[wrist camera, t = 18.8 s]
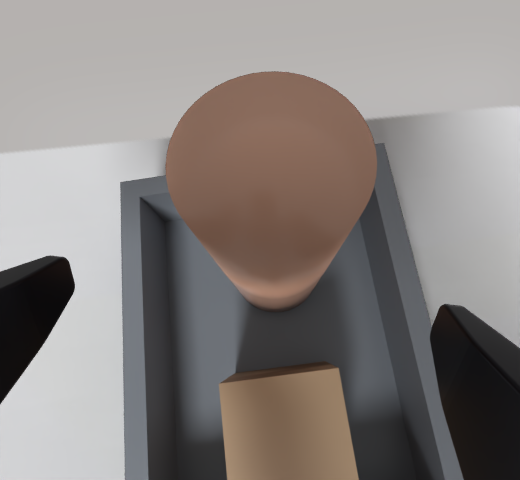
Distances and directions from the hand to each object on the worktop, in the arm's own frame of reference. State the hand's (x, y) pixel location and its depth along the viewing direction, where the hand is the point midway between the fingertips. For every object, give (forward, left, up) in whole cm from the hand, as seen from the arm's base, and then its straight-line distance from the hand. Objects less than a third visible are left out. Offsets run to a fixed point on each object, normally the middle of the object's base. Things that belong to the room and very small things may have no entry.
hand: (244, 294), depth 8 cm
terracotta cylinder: (+3, -1, -12) cm, 12 cm away
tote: (-1, 0, -13) cm, 13 cm away
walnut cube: (-5, 0, -12) cm, 13 cm away
